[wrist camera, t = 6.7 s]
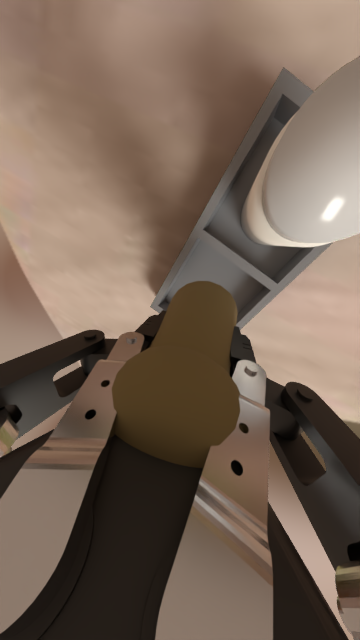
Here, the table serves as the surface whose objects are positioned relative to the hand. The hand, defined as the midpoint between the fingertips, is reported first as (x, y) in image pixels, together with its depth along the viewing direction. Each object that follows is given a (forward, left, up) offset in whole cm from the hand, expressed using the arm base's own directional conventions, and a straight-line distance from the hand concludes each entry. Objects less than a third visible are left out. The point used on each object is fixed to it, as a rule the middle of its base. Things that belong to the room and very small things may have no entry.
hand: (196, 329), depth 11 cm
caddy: (-4, +2, -10) cm, 11 cm away
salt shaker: (-9, +4, -9) cm, 14 cm away
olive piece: (0, 0, -3) cm, 3 cm away
